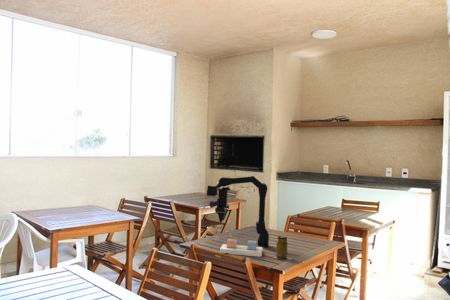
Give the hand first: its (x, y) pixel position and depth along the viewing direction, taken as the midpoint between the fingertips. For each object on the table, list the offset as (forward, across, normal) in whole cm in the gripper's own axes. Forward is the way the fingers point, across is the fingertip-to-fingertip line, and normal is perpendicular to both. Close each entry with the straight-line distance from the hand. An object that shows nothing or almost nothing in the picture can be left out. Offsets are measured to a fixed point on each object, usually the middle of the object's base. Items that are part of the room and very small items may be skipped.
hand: (221, 221), depth 248 cm
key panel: (+14, +17, +15) cm, 27 cm away
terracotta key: (+11, +17, +9) cm, 22 cm away
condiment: (+15, +21, +39) cm, 47 cm away
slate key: (+12, +17, +21) cm, 29 cm away
